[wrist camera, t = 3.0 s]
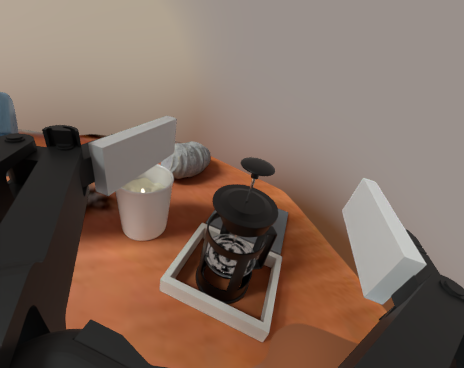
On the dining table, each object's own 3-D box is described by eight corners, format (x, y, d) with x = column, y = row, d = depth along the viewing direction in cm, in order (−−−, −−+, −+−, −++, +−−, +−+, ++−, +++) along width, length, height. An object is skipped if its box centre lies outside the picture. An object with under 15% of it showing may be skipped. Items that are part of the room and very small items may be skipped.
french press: (193, 308, 32) (222, 183, 20) (189, 256, 39) (208, 141, 27) (264, 299, 35) (325, 189, 23) (248, 253, 43) (288, 150, 31)
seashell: (201, 158, 73) (206, 130, 68) (221, 182, 63) (227, 151, 58) (153, 161, 64) (153, 130, 59) (167, 189, 55) (169, 154, 49)
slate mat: (279, 256, 44) (280, 253, 43) (205, 225, 47) (205, 222, 46) (287, 215, 56) (288, 212, 56) (228, 192, 59) (229, 189, 59)
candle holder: (133, 205, 47) (130, 157, 41) (176, 215, 47) (180, 169, 41) (107, 238, 39) (99, 184, 32) (159, 249, 39) (161, 199, 33)
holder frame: (262, 342, 30) (269, 333, 28) (159, 290, 33) (160, 279, 31) (277, 266, 42) (282, 256, 40) (200, 232, 45) (202, 222, 43)
